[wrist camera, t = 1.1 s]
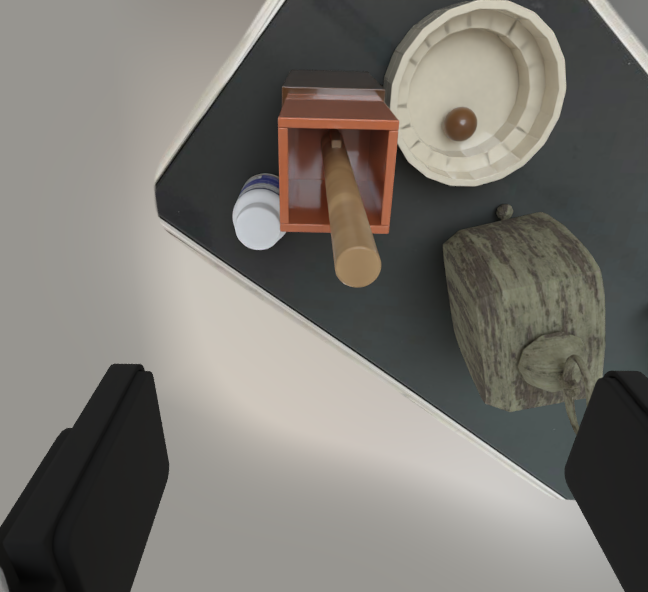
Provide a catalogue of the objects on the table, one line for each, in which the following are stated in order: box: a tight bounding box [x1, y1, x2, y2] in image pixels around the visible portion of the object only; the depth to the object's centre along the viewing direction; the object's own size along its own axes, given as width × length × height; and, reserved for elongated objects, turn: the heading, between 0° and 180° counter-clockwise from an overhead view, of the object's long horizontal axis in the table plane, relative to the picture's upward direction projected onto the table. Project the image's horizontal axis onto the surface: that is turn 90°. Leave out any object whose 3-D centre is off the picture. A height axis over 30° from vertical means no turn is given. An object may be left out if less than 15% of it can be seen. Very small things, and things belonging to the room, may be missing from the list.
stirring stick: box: [321, 129, 381, 287], centre depth 26 cm, size 2×2×20 cm
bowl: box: [383, 0, 566, 186], centre depth 43 cm, size 14×14×6 cm
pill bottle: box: [233, 173, 286, 250], centre depth 46 cm, size 5×5×9 cm
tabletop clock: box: [443, 204, 605, 435], centre depth 43 cm, size 14×9×25 cm, turn 14°
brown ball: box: [443, 107, 477, 141], centre depth 45 cm, size 3×3×3 cm
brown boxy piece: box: [278, 70, 399, 234], centre depth 36 cm, size 7×7×23 cm
